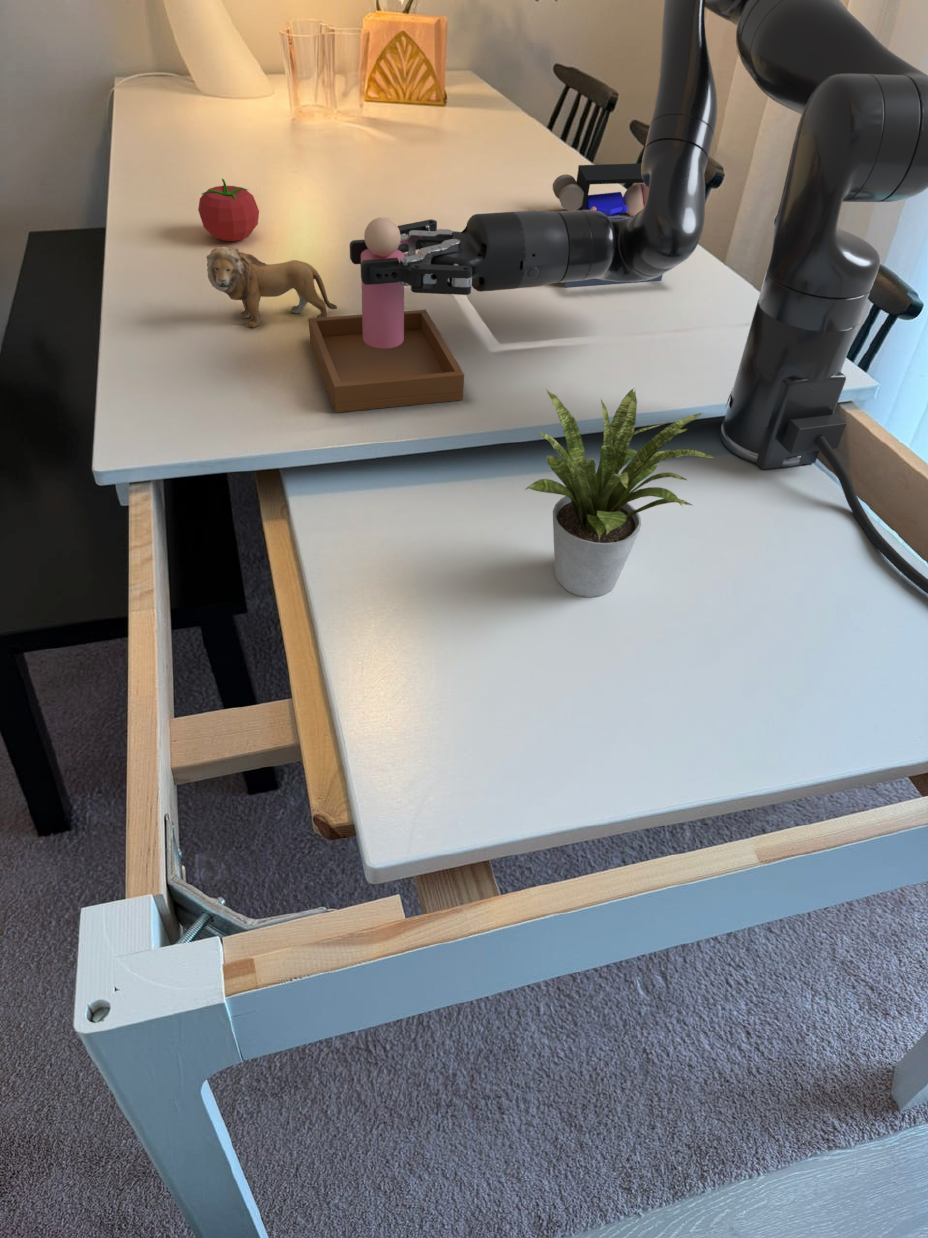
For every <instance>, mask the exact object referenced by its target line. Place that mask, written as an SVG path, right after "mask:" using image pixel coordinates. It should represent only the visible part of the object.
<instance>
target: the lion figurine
mask: <svg viewBox="0 0 928 1238" xmlns="http://www.w3.org/2000/svg"><path fill="white" fill-rule="evenodd" d="M206 261H207V263H206V266H207V267H206V271H207V278H208V281H209V283H210V284H211V286H212V287H213V288H215V289H216V290H217V291H219V292H222V293H224V294H226V295H227V296H228V298H229V299H230V300H232V301H241V302H242V304H243V309H244V310H242V311H241V312H240V313H239V316H240V318H241V319H249V318H250V317H251V318H250V319H249V320H247V322H246V324H247V326H248V327H249V328H252V329H254V328H257V327H258V326H259V325H260V319H261V317H260V316H261V315H260V311H259V309H260V308H259V307H260V302H261V299H262V298H276V297H280V296H282V295H284V294H287V293H288V292H289V291H291V290H292V289H293V290H295V292H296V293H297V296H298V299H299V300H298V301H299V302H298V304H297V305H293V306H292V307H291V310H290V311H291V312H292V313H294V314H299V313H301V312H302V311H303V310H304V308H306V306H307V304H310V305H312V306H313V307H315V308H316V309H317V310H319V311H320V313H319V314H317V315H316V316H315V318H320V317H329V315H328V310H327V308H328V309H329V310H337V309H338V305H336V304H335V303H332V302H330V301H329V297H328V294H327V290H326V287H325V284H324V282H323V280H322V277H321V275H320V274H319V272H318V271H317V269H316V268H315V267H313V266H312V265H311V264H310V263H308V262H305V261H302V260H298V259H293V260H288V261H285V262H280V263H271V264H270V263H267V264H266V263H265V262H262V261H261V260H259V259H258V258H257V257H256V256H254V255H252V254H250V253H246V252H243V251H240V250H239V249H238V248H234V247H229V246H219V247H214V248H213V249H212V250H211V251H210V253H209V254H208V255H206ZM315 282H316V284H317V287H318V289H319V291H320V294H321V296H322V298H321V297H320V296H319V294H318V292H317V290H316V287H315Z"/></svg>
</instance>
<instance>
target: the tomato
mask: <svg viewBox="0 0 928 1238" xmlns="http://www.w3.org/2000/svg"><path fill="white" fill-rule="evenodd" d="M221 182H222V183H223V184H222V185H219V186H214V187H210V188H208V189H207V190H206V191H204V192H202V193H201V196H200V197H199V202H198V203H199V204H198V207H197V208H198V209H197V210H198V214H199V217H200V220H201V223H202V227H203V228H204V229H205V230H206V231H207V232H208V233H209V234H210V235H211V236H212V237H214V238H216V239H217V240H221V241H229V242H230V241H232V242H235V241H241V240H244V239H246V238H248V237H249V236H251V234H252V233H253V232H254V230H255V229H256V228H257V226H258V225H259V218H260V210H259V207H258V203H257V202H256V199H255V197H254V195H253V194H252V193H251V192H250V191H249V189H248V188H245V187H242V186H236V185H227V184H226V181H225V179H224V178H222V179H221Z"/></svg>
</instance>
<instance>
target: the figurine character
mask: <svg viewBox="0 0 928 1238" xmlns="http://www.w3.org/2000/svg"><path fill="white" fill-rule="evenodd" d="M641 165H642V162H641V163H640V162H639V163H637V162H636V163H608V164H605V163H603V164H578V166H577V175H576V179H575V177H574V176H572V175H570V174H561V175H559V176H557V177H556V178H555V179H554V181H553V182H552V191H553V194H554V196H555V197H556V198H557V200H559V203H560V205H561V207H562V208H563V209H564V210H565V211H574V210H596V211H600V212H602V213H604V214H605V215H606V216H613V215H621V214H623V213H624V214H625V215H627V216H630V217H633V216H634V215H636V214H637V213H638V212H640V211H641V210H642V209H643V208H644V206H645V203H646V200H647V197H648V192H649V188H648V187H647V186H646V185H645V183H644V182H643V179H642V175H641ZM614 184H616V185H618V184H619V185H620V184H633V185H631V186H629V187H628V188H627V189H626V190H625V192H624V194H623V193H622V192H621V191H615V192H604V193H595V194H589V193H590V186H591V185H614Z"/></svg>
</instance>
